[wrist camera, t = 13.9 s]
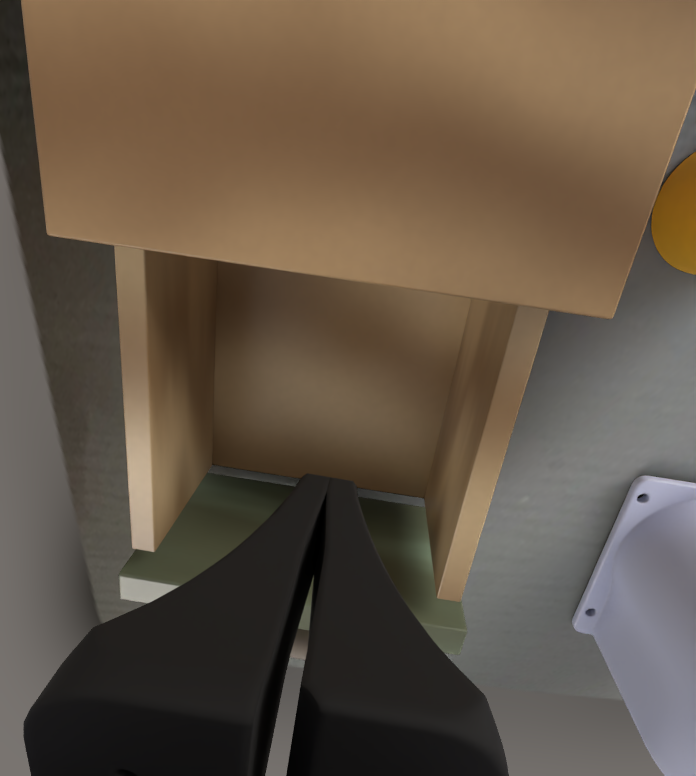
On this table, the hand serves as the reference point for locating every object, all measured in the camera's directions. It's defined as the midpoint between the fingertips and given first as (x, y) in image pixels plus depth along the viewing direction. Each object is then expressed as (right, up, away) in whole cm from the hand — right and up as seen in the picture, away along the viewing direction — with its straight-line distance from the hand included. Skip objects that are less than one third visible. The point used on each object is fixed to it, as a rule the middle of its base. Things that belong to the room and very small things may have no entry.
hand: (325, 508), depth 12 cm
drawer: (0, +2, +8) cm, 8 cm away
